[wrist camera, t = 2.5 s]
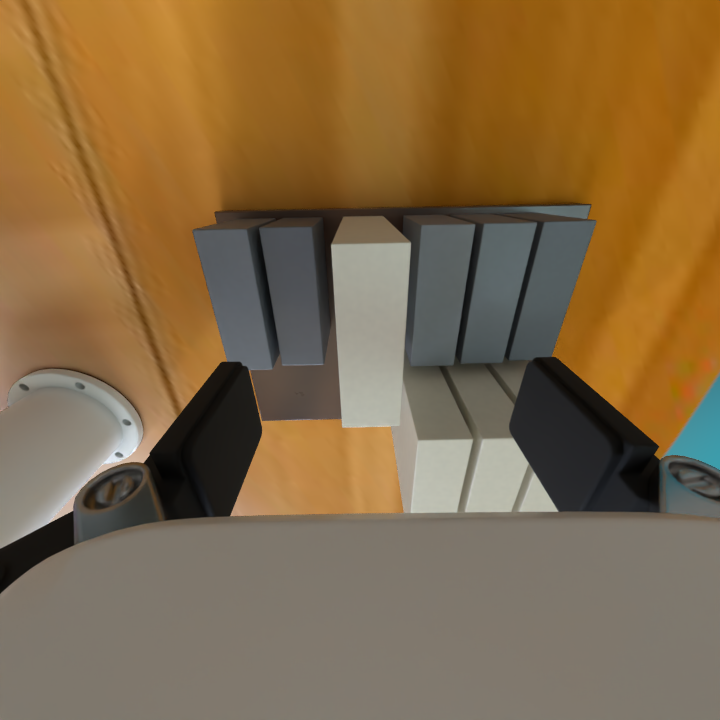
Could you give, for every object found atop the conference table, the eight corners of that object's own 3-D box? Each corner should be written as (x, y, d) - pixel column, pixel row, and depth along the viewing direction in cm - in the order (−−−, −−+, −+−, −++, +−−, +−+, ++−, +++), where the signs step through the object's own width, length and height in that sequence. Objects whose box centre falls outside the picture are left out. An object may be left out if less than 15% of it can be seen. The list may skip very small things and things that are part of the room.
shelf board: (265, 412, 33) (261, 421, 32) (221, 210, 24) (213, 211, 22) (518, 406, 34) (524, 415, 32) (579, 203, 24) (592, 203, 22)
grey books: (257, 329, 27) (229, 370, 21) (235, 218, 23) (191, 229, 16) (509, 324, 27) (554, 363, 21) (536, 212, 23) (603, 221, 17)
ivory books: (389, 414, 32) (407, 538, 21) (392, 337, 28) (417, 440, 16) (483, 412, 32) (554, 534, 21) (501, 334, 28) (604, 436, 16)
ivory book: (347, 327, 27) (342, 427, 16) (342, 216, 23) (330, 243, 11) (381, 327, 27) (399, 426, 16) (383, 215, 23) (411, 242, 11)
